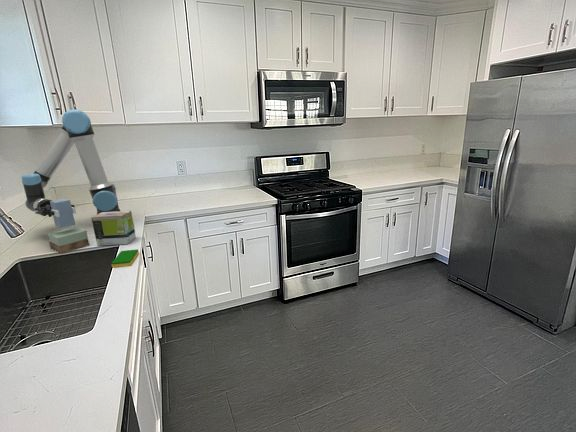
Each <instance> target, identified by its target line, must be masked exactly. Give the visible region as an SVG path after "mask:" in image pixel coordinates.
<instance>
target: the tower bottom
mask: <svg viewBox="0 0 576 432" xmlns="http://www.w3.org/2000/svg"><path fill="white" fill-rule="evenodd" d="M48 243H49V248H50V250H52V249H53V251H55V250H56V251H55V252H57V251H58V252H57V253H59V254H65V253H68V252H69V253H70V252H71V251H74V250H75V251H76V250H78V248H79V249H81V248H85V247H88V246H90V242H89V238H88V239H84V240H81V241H77V242H73V243H70V244H66V245H62V246H58V245H56V244H54V243H52V242H50V241H49V242H48Z"/></svg>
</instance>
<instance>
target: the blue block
mask: <svg viewBox="0 0 576 432" xmlns="http://www.w3.org/2000/svg"><path fill="white" fill-rule="evenodd" d="M50 205H51V209H53V210H57V211H59V214H60V217H56V216H53V215H52V218H53V222H54V226H55V227H56V228H59V229H63V228H66V227H68V228H69V227H71V226H75V225H76V221H75V217H74V213H73V212H72V207H71V205H72V203H71V200H70V199H66V198H62V199H56V200H52V201H50Z"/></svg>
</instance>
